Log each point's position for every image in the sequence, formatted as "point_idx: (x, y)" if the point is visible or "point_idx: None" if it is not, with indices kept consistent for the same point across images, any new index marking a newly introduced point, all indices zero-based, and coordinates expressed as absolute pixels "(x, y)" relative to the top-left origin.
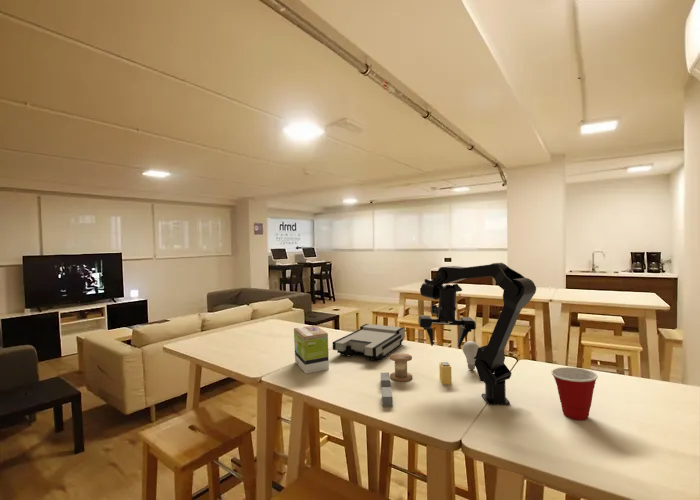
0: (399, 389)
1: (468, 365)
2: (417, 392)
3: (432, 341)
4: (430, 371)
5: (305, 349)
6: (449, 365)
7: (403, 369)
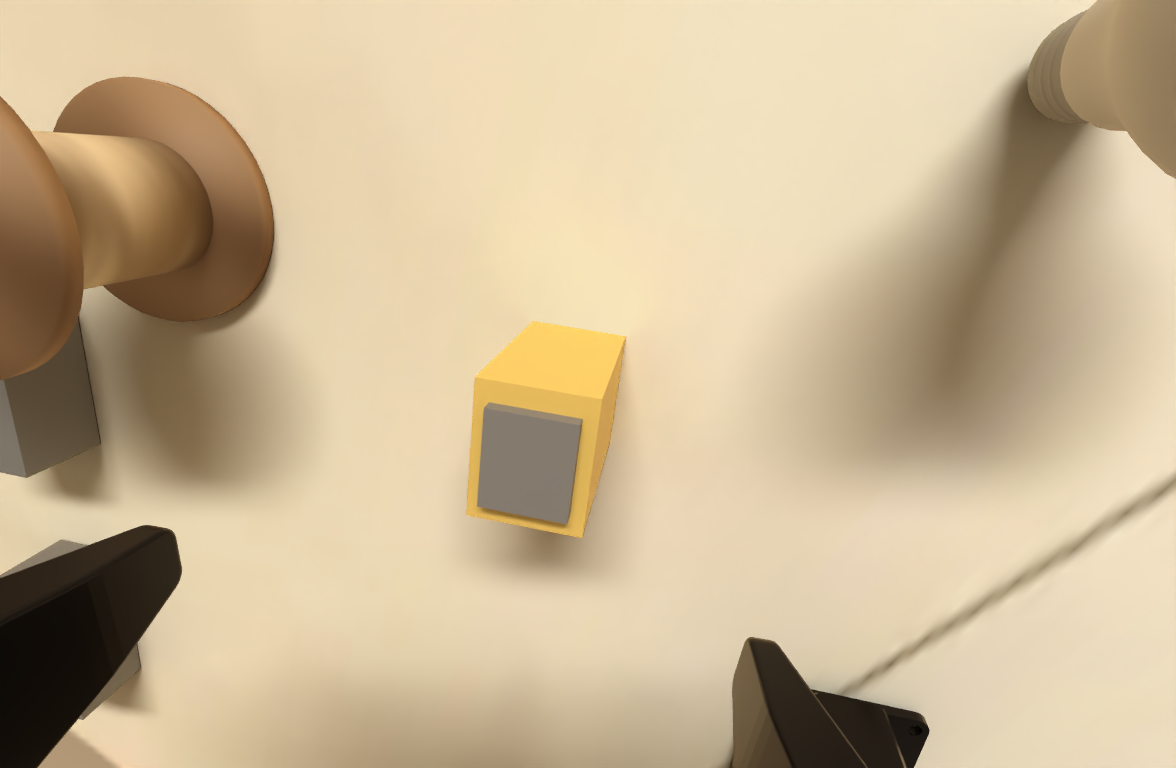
0: (167, 457)
1: (1050, 78)
2: (295, 530)
3: (73, 706)
4: (495, 57)
5: None
6: (566, 519)
7: (101, 284)
